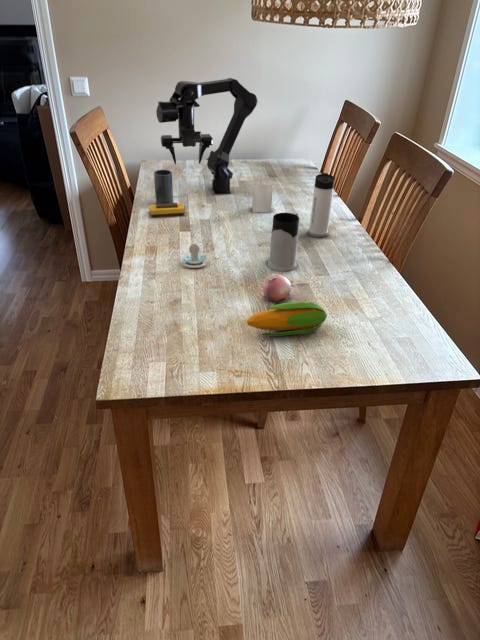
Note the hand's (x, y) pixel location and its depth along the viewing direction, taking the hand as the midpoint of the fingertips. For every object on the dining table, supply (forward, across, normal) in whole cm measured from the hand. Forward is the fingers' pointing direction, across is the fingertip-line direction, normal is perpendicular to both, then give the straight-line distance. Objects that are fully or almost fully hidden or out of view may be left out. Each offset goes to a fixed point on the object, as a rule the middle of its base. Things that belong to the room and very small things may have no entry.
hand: (187, 163), depth 187 cm
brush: (+13, -10, -16) cm, 23 cm away
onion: (+13, +13, -79) cm, 81 cm away
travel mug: (+13, +39, -41) cm, 58 cm away
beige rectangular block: (+13, +25, -18) cm, 33 cm away
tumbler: (+13, -10, -8) cm, 18 cm away
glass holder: (+13, +22, -58) cm, 63 cm away
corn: (+13, +11, -94) cm, 95 cm away
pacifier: (+13, -6, -56) cm, 58 cm away
